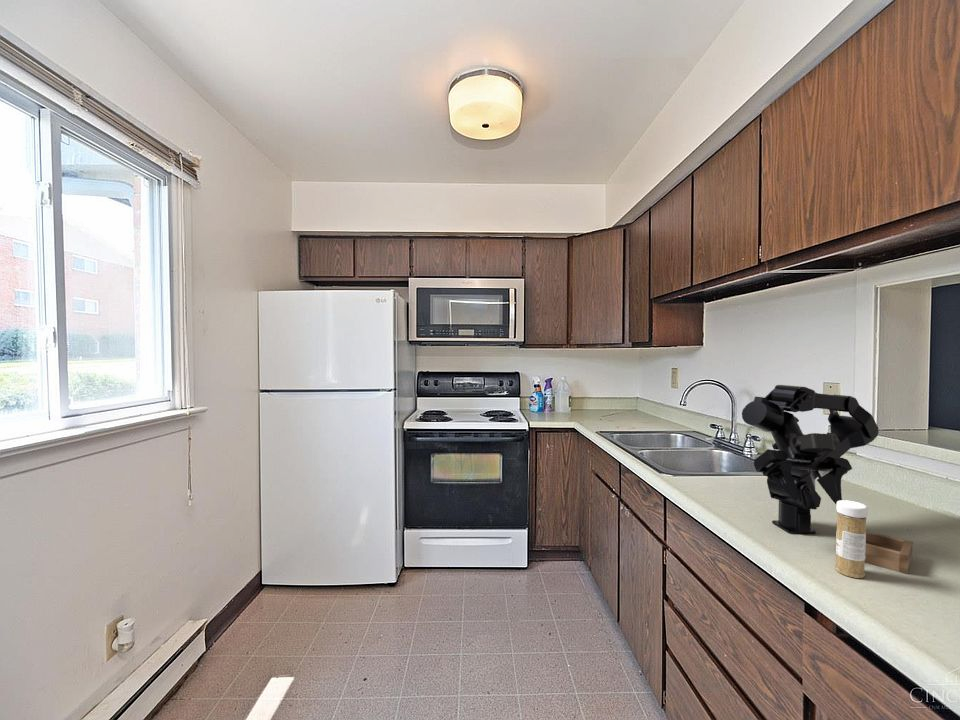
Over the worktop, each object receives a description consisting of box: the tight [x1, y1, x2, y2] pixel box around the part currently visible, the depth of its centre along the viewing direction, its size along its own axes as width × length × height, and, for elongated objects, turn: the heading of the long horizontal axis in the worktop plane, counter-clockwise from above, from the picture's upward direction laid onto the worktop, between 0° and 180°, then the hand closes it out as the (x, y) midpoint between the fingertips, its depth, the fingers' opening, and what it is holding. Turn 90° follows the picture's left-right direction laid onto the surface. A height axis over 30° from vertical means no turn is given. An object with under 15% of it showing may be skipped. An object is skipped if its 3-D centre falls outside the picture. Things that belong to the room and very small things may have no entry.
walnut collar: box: [865, 530, 914, 575], centre depth 92 cm, size 9×9×4 cm
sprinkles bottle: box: [834, 499, 869, 579], centre depth 85 cm, size 5×5×13 cm
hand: (819, 502), depth 92 cm, fingers open, 9 cm apart
